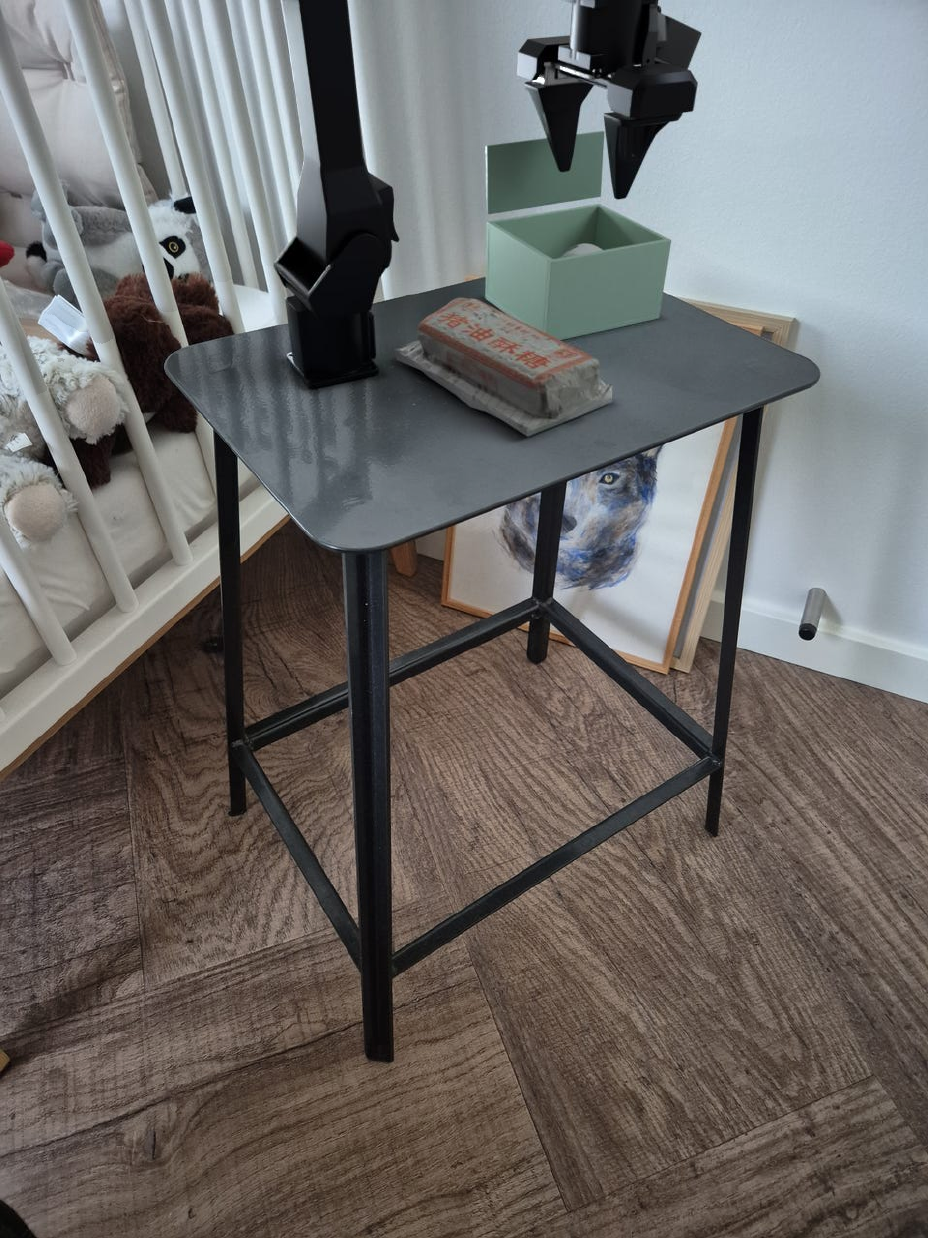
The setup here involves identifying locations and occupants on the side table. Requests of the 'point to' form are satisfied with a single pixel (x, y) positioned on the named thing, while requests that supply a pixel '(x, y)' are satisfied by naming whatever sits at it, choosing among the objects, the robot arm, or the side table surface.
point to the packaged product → (506, 366)
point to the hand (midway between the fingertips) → (591, 184)
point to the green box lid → (541, 173)
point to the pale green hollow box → (575, 270)
